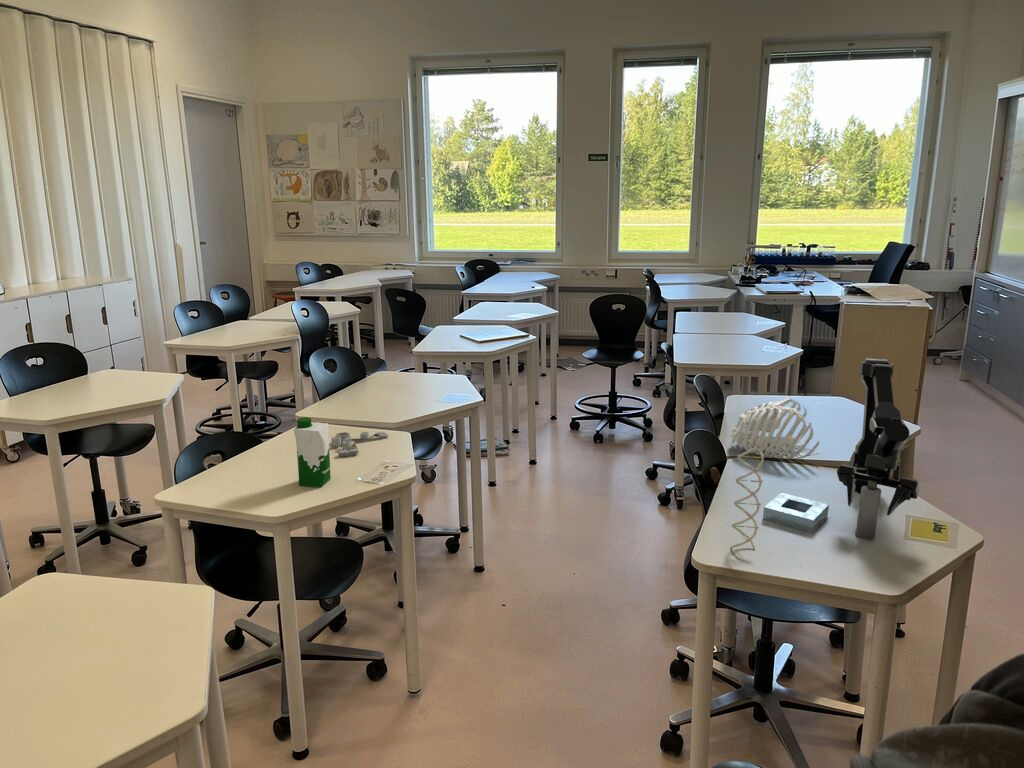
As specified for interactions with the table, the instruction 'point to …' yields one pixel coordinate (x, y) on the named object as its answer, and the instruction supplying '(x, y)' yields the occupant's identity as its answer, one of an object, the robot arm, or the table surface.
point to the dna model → (749, 492)
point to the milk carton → (312, 453)
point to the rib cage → (768, 422)
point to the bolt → (715, 474)
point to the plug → (868, 511)
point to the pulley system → (345, 442)
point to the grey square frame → (796, 512)
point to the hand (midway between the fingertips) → (868, 509)
